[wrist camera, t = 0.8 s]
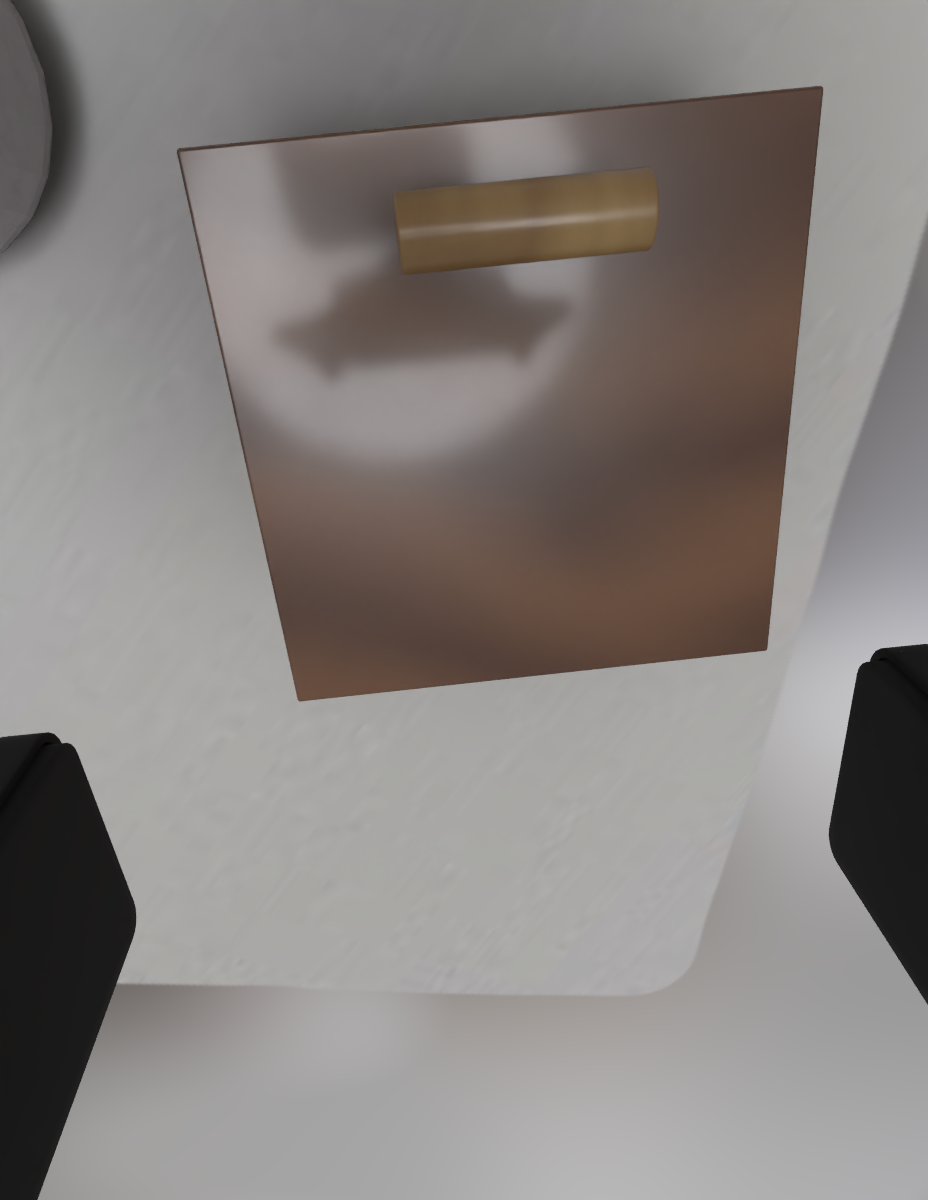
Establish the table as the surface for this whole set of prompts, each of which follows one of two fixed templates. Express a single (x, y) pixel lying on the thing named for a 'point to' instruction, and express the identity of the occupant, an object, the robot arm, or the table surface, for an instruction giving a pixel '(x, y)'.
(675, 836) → the table surface
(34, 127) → the coffee pot
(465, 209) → the lid
